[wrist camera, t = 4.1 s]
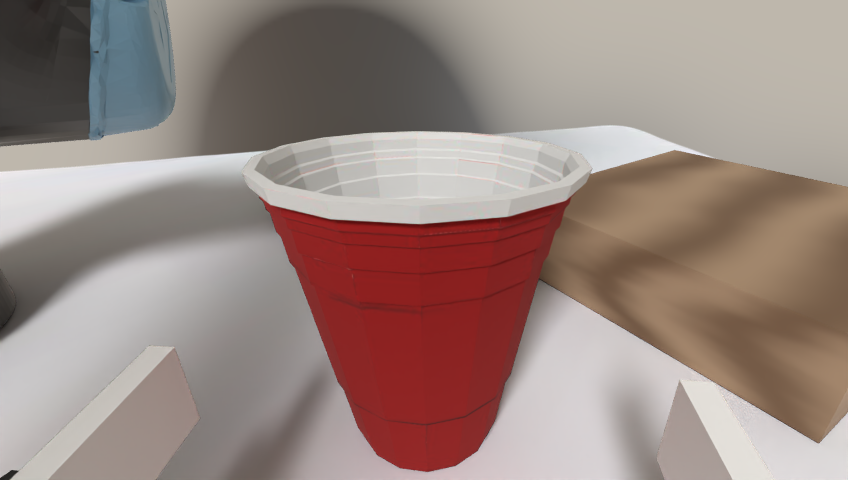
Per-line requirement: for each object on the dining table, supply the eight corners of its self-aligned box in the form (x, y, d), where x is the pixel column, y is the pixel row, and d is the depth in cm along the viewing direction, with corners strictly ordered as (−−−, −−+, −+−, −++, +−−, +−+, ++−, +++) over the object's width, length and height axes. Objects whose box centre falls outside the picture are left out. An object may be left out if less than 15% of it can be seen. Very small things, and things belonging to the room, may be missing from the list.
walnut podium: (510, 261, 31) (514, 195, 29) (662, 205, 40) (674, 150, 37) (818, 443, 17) (871, 343, 15) (953, 297, 26) (1000, 219, 24)
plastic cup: (566, 358, 22) (600, 116, 17) (532, 590, 13) (582, 232, 8) (374, 317, 26) (352, 107, 21) (246, 477, 17) (150, 180, 12)
